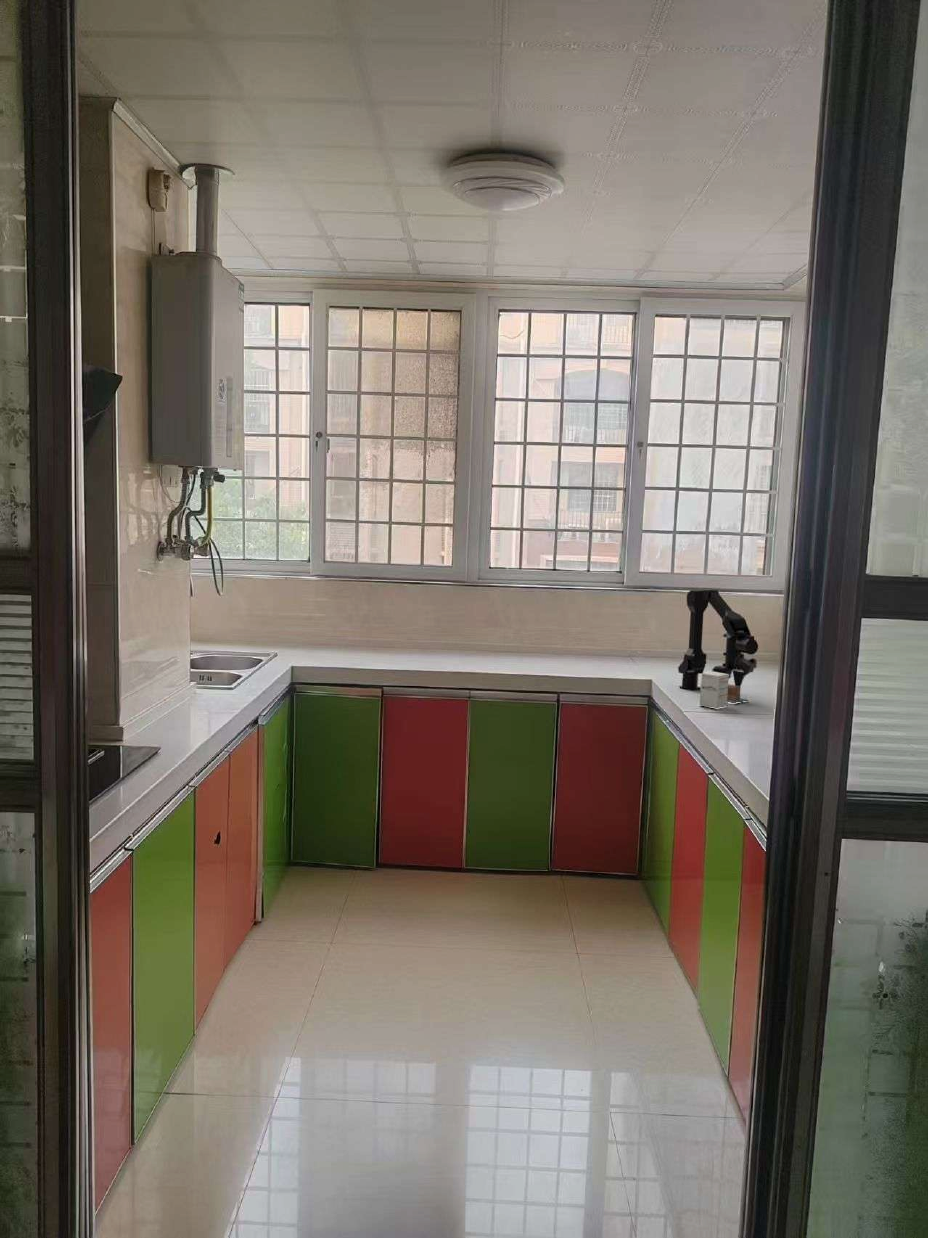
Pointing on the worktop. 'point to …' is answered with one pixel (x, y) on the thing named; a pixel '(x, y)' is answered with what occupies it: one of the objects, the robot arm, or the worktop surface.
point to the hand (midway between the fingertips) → (730, 691)
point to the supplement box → (714, 689)
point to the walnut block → (733, 692)
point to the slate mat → (737, 700)
